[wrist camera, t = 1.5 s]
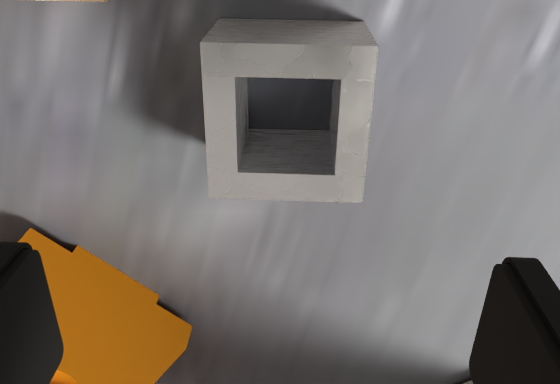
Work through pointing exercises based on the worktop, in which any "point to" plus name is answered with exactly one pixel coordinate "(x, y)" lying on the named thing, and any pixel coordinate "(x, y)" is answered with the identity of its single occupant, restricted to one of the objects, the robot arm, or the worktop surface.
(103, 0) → the post stand
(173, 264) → the worktop surface
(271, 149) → the collar
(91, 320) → the bracket
